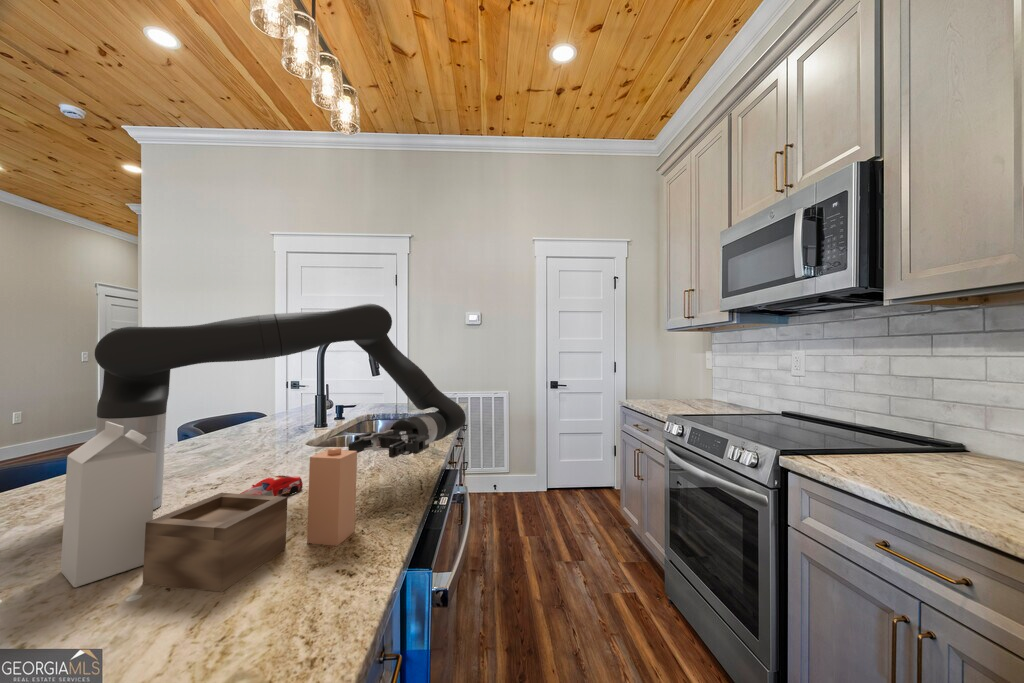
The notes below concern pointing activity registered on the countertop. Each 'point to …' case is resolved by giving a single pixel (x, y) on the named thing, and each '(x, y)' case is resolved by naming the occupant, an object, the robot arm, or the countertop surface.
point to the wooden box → (214, 541)
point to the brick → (331, 496)
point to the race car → (276, 486)
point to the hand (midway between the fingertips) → (370, 450)
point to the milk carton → (107, 505)
